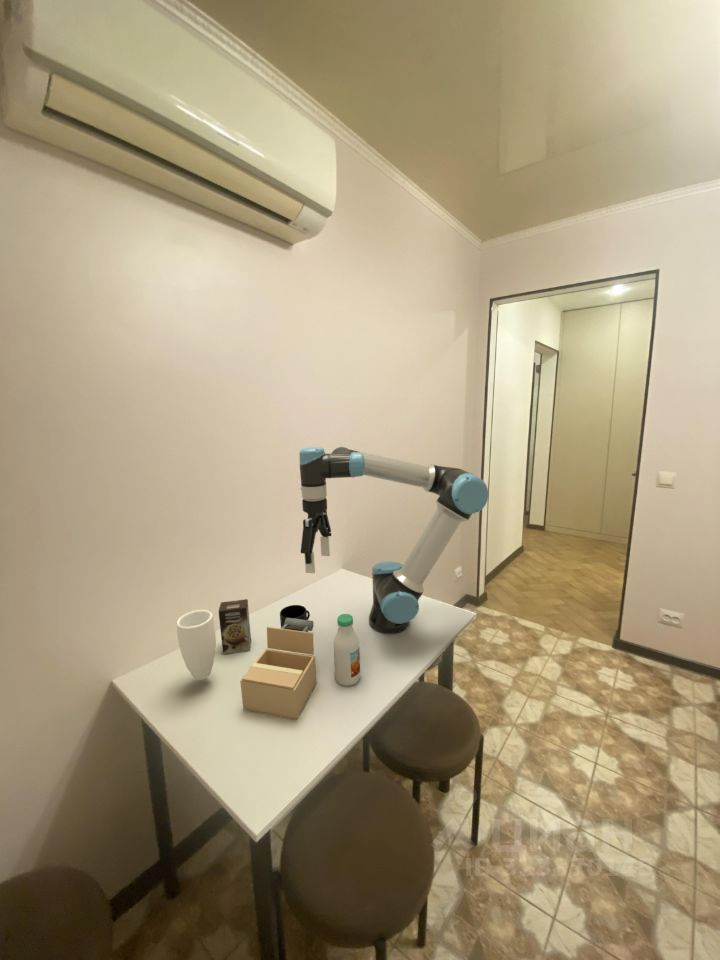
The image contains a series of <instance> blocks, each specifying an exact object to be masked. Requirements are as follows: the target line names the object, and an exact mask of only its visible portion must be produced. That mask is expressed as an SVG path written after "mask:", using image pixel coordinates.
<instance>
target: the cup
mask: <svg viewBox="0 0 720 960" xmlns="http://www.w3.org/2000/svg"><path fill="white" fill-rule="evenodd" d="M176 632H177V633H176V634H177V640H178V645H179V650H180V651H179V652H180V653H181V657H182V659H183V662H184V664H185V667H186V669H187V671H189V673H190V675H191V676H192V678H194V680H196V681H201V680H205V679H207V678H208V677H209V676H210V675H211V672H212V669H213V665H214V663H215V662H214V661H215V658H216V657H215V656H216V648H217V639H216V627H215V622H214V615H213V613H212V612H211V611H209V610H207V609H196V610H192V611H189V612H187V613H185V614H182V615H181V616H180V617H179V618H178V620H177V621H176Z"/></svg>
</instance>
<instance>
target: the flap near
mask: <svg viewBox="0 0 720 960" xmlns="http://www.w3.org/2000/svg"><path fill="white" fill-rule="evenodd" d="M314 624H315V623H314V621H313V620H311V619H310V620H309V619H308V620H302V619H293V618H286V619H285V622H284V626H283V627H282V628H281V627H280V628H279V627H272V626H271V627H270V626H267V627H266V642H267V643H266V644H267V646H266V649H271V650H278V651H284V652H291V653H298V654H305V655H311V656H314V653H315V652H314V648H315V647H314V646H315V645H314V632H312V631H313V629H314V626H315V625H314ZM286 628H291V629H299V630H303V631H296V630H288V629H286ZM307 631H308V632H307Z"/></svg>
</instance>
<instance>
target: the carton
mask: <svg viewBox="0 0 720 960" xmlns="http://www.w3.org/2000/svg"><path fill="white" fill-rule="evenodd" d="M317 680H318V679H317V667H316V656H315V655H311V654H304V653H297V652H290V651H284V650H277V649H270V648H265V649H264V650H263V651H262V653H261V654H260V655H259V657H257V659H256V660H255V661H254V662H253V664H251V666H250V668H249V669H248V670H247V671H246V672H245V674H244V675H243V676H242V678H241V679H240V681H239V682H240V691H241V699H242V702H241V703H242V709H243V710H244V711H250V712H255V713H259V714H260V713H261V714H265V715H269V716H274V717H275V716H276V717H278V718H279V717H280V718H285V719H290V720H295V721H298V719H299V717H300V716H301V714H302V712H303V709H304V708H305V706H306V704H307V702H308V700H309V699H310V697H311V694H312V693H313V691H314V689H315V687H316V685H317Z"/></svg>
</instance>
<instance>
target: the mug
mask: <svg viewBox="0 0 720 960" xmlns="http://www.w3.org/2000/svg"><path fill="white" fill-rule="evenodd" d="M310 615H311V614H310V611H309V610H307V608H306V607H305V606H303V605H302V604H301V605H300V604H291V605H288V606H286V607H282V609H281V610H280V612H279V617H280V618H279V619H280V620H279V623H280V628H282V627H283V626H284V622H285V619H286V618H293V619H302V620H309V619H310ZM286 629H288V630H296V631H303V630H299V629H291V628H286ZM307 632H309V631H307Z"/></svg>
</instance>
